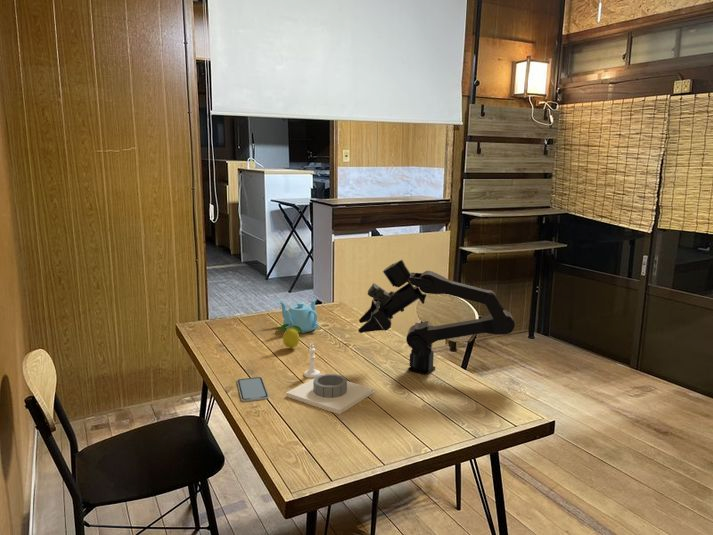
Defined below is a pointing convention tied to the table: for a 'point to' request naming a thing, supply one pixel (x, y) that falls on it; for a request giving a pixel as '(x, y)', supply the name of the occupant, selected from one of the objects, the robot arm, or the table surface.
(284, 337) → the lemon
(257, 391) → the smartphone
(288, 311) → the teapot
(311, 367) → the chess piece
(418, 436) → the table surface
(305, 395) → the collar board
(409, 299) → the robot arm
